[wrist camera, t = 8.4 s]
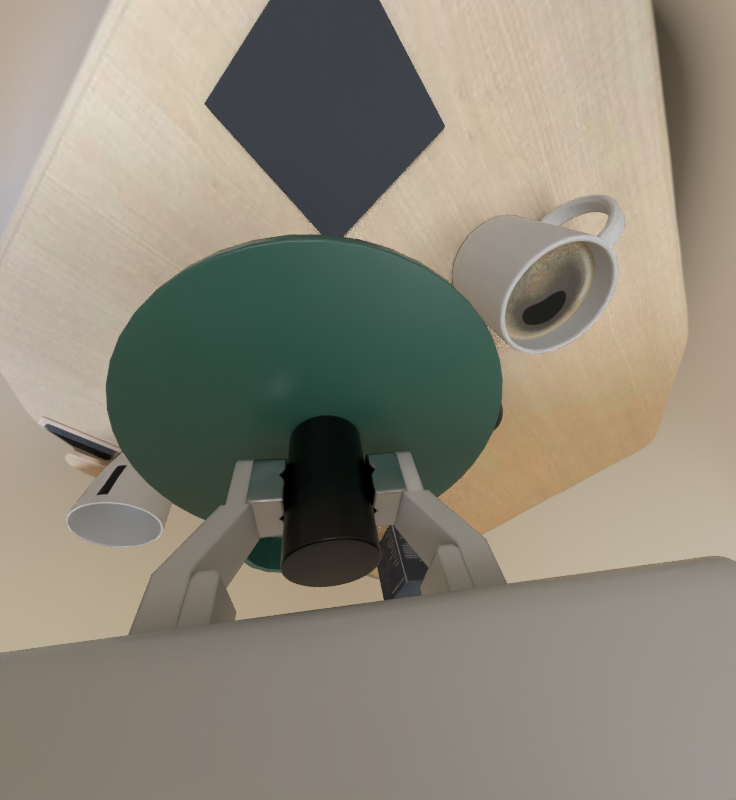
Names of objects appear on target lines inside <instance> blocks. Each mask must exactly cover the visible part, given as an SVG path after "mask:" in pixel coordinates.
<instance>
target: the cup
mask: <svg viewBox="0 0 736 800" xmlns="http://www.w3.org/2000/svg"><path fill="white" fill-rule="evenodd" d="M171 504H172V502H171V501H169V500H168V499H166V498H165V497H163V496H162V495H161V494H159V493H158V492H157V491H156V490H155V489H154V488H152V487H151V486H150V485H149V484H148V483H147V482H146V481H145V480H144V479H143V478H142V477H141V476H140V475H139V474H138V472H137V471H136V470H135V469H134V468H133V467H132V465H131V464H130V462H129V461H128V459H127V458H126V456H125V455H124V453H123V452H121V453H120V454H119V455H118V456H117V457H116V458H115V459H114V460H113V461H112V462H111V463H110V464H109V465H108V466H107V467H106V468H105V469H104V470H103V471H102V472H101V473H100V474H99V475H98V476H97V477H96V478H95V480H94V481H93V482H92V483H91V485H90V486H89V487H88V488H87V490H86V491H85V492H84V494H83V495H82V496H81V497H80V499H79V500H78V501H77V503H76V504H75V505H74V506H73V508H72V509H71V510H70V512H69V513H68V514H67V516H66V518H65V523H66V526H67V527H68V529H69V530H70V531H71V532H72V533H73V534H74V535H76V536H77V537H79V538H81V539H83V540H86V541H88V542H91V543H94V544H98V545H103V546H108V547H120V548H124V547H137V546H142V545H146V544H149V543H151V542H153V541H155V540H157V539H158V538H159V537H160V536H161V534H162V532H163V529H164V526H165V523H166V520H167V517H168V514H169V511H170V507H171Z"/></svg>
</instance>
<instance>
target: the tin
mask: <svg viewBox="0 0 736 800" xmlns="http://www.w3.org/2000/svg"><path fill="white" fill-rule="evenodd" d="M281 549H282V538H278V537H263V538H259V541H258V542H257V544H256V545H255V547H254V548H253V550H252V551H251V553H250V554H249V556H248V557H247V559H246V560H245V563H246V564H248V565H249V566H251V567H252V568H255V569H259V570H262V571H266V572H280V573H282V572H281V569H280V563H281Z"/></svg>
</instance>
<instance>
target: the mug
mask: <svg viewBox="0 0 736 800" xmlns="http://www.w3.org/2000/svg"><path fill="white" fill-rule="evenodd" d="M590 212H602V213H605V214H607V215H609V216H608V221H607V223H606V225H605V227H604V229H603V230H602V231H601V232H600V233H599V234H598V235H597V236H595V235H591V234H587V233H583V232H579V231H575V230H571V229H567V228H563V227H559V226H560V225H562V224H563V223H565V222H566V221H568V220H570V219H572V218H574V217H577V216H579V215H582V214H586V213H590ZM624 227H625V217H624V215H623V212H622V210H621V208H620V206H619V204H618V203H617V201H616V200H615V199H613V198H611V197H609V196H605V195H591V196H585V197H580V198H577V199H574V200H571V201H569V202H567V203H565V204H563V205H561V206H559V207H557V208H556V209H554V210H553V211H551V212H550V213H549V214H547V215H546V216H545V217H544V218H543V219H542V220H541V221H536V220H532V219H528V218H524V217H520V216H515V215H503V216H498V217H495V218H493V219H490V220H488V221H486V222H485V223H483V224H481V225H480V226H479V227H478V228H476V229H475V230H474V231H473V232H472V233H471V234H470V235H469V236H468V237H467V239H466V240H465V241H464V243H463V244H462V246H461V248H460V249H459V252H458V254H457V256H456V259H455V262H454V267H453V287H454V288H455V289H456V290H457V291H458V292H459V293H461V294H462V295H463V296H464V297H465V298H466V299H467V300H468V301H469V302H470V303H471V305H472V306H473V307H474V309H475V310H476V311H477V313H478V314H479V315H480V317H481V318H482V319H483V321H484V323H485V324H486V325H488V326H489V327H490V328H491V329H492V330H493V331H494V332H495V333H496V334H497V335H499V336H500V337H501V338H502V339H503V340H504V341H505V342H506V343H507V344H508V345H510V346H511V347H512V348H514V349H515V350H518V351H520V352H523V353H528V354H540V353H546V352H551V351H554V350H556V349H559V348H561V347H563V346H565V345H567V344H569V343H571V342H572V341H574V340H575V339H577V338H578V337H579V336H581V335H582V334H583V333H585V332H586V331H587V330H588V329H589V328H590V327H591V326H592V325H593V324H594V323H595V322H596V321H597V320H598V318H599V317H600V316H601V314H602V313H603V312H604V310H605V309H606V307H607V305H608V304H609V302H610V300H611V298H612V296H613V294H614V291H615V288H616V285H617V280H618V271H619V266H618V259H617V256H616V254H615V251H614V250H613V248H612V247H613V246H614V244H615V243H616V242H617V241H618V239H619V238H620V236H621V234H622V233H623V230H624Z"/></svg>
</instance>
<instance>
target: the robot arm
mask: <svg viewBox="0 0 736 800" xmlns="http://www.w3.org/2000/svg"><path fill="white" fill-rule="evenodd" d="M365 466H366V472H367V478H368V483H369V489H370V494H371V499H372V505H373V510H374V516H375V521H376V526H391V525H395V528H396V529H397V530H398V531H399V532H400V534H401V535H402V536H403V537H404V539H405V540H406V541H407V542H408V543H409V545H410V546H411V547H412V548H413V549H414V551H415V552H416V553H417V554H418V555H419V557H420V558H421V559H422V560H423V561H424V563H425V564H426V565H427V566H428V567H429V568H428V570H427V573H426V575H425V577H424V580H423V582H422V584H421V586H420V589H421V593H422V595H421V596H413V597H406V598H399V599H391V600H384V601H377V602H370V603H362V604H355V605H347V606H341V607H332V608H325V609H318V610H311V611H304V612H296V613H288V614H281V615H274V616H267V617H259V618H252V619H244V620H237V621H235V616H236V610H235V608H234V606H233V603H232V601H231V599H230V597H229V594H228V592H227V590H226V588H227V587H228V585H229V583H230V582H231V581H232V579H233V578H234V576H235V575H236V573H237V572H238V570H239V569H240V567H241V566H242V564H243V563H244V562H245V560H246V559H247V557H248V556H249V554H250V553H251V551H252V550H253V548H254V547H255V545H256V544H257V542H258V541H259V538H263V537H271V536H280V535H283V522H284V513H285V499H286V483H287V471H288V463H287V459H286V458H284V459H255V460H238V461H237V463H236V464H235V468H234V472H233V476H232V480H231V484H230V488H229V492H228V496H227V500H226V504H225V505H220V506H219V507H218V508H217V509H216V510H215V511H214V512H213V513H212V514H211V515H210V516H209V517H208V518H207V519H206V520H205V521H204V522H203V523H202V524H201V525H200V526H199V527H198V528H197V529H196V530H195V531H194V532H193V533H192V534H191V536H189V537H188V538H187V540H186V541H184V542H183V544H182V545H181V546H180V547H179V548H178V549H177V550H176V551H175V552H174V553H173V554H172V555H171V556H170V557H169V558H168V559H167V560H166V561H165V562H164V563H163V564H162V565H161V566H160V567H159V568H158V569H157V570H156V571H155V572H154V573H153V574H152V575H151V577H150V580H149V583H148V585H147V588H146V591H145V593H144V596H143V598H142V601H141V603H140V606H139V608H138V611H137V614H136V616H135V619H134V621H133V624H132V627H131V629H130V632H129V634H128V635H127V636H120V637H112V638H105V639H98V640H90V641H83V642H76V643H68V644H61V645H54V646H46V647H39V648H31V649H25V650H17V651H10V652H2V653H0V800H736V561H733V560H731V559H729V558H725V557H720V556H707V557H700V558H693V559H686V560H679V561H672V562H664V563H657V564H649V565H642V566H634V567H627V568H620V569H612V570H605V571H598V572H591V573H583V574H576V575H568V576H561V577H553V578H546V579H539V580H531V581H524V582H517V583H509V584H507V582H506V580H505V578H504V576H503V574H502V572H501V570H500V567H499V565H498V563H497V561H496V559H495V557H494V555H493V553H492V550H491V548H490V546H489V544H488V542H487V540H486V539H485V538H484V537H483V536H482V535H481V534H480V533H478V532H477V531H476V530H475V529H474V528H472V527H471V526H470V525H469V524H468V523H467V522H465V521H464V520H463V519H462V518H461V517H460V516H458V515H457V514H456V513H455V512H454V511H452V510H451V509H450V508H449V507H448V506H447V505H445V504H444V503H443V502H442V501H441V500H440V499H438V498H437V497H436V496H435V495H434V494H433V493H431V492H430V491H429V490H424V489H423V486H422V483H421V480H420V477H419V475H418V472H417V469H416V466H415V463H414V461H413V458H412V455H411V453H410V452H409V451H406V452H395V453H394V452H387V453H372V454H366V456H365Z"/></svg>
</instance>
